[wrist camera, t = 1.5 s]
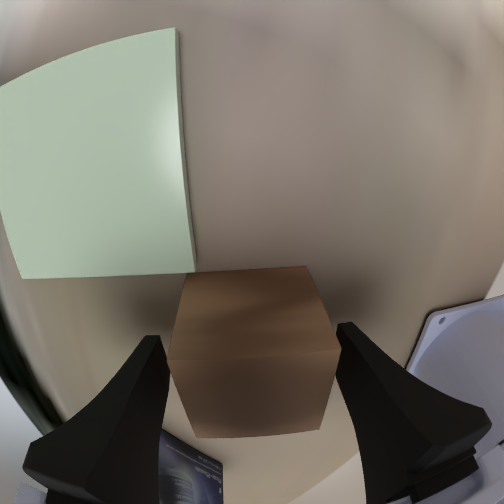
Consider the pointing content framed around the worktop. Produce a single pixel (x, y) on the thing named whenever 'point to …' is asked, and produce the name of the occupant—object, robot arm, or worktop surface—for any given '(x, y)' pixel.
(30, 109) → the plate
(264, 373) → the walnut cube
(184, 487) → the small box
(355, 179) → the worktop surface
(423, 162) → the worktop surface
